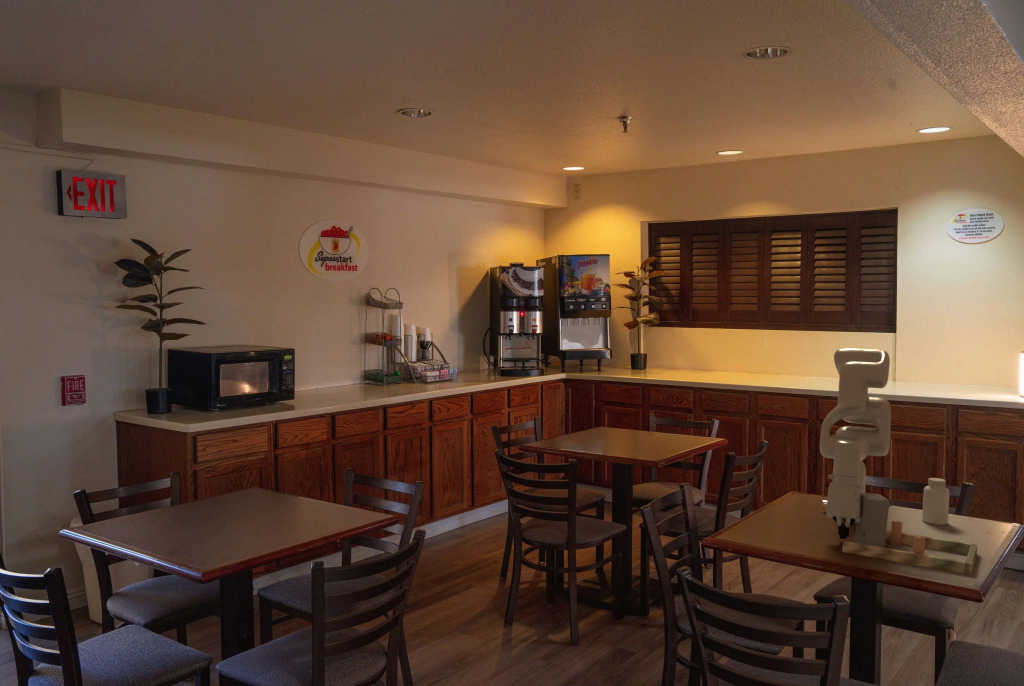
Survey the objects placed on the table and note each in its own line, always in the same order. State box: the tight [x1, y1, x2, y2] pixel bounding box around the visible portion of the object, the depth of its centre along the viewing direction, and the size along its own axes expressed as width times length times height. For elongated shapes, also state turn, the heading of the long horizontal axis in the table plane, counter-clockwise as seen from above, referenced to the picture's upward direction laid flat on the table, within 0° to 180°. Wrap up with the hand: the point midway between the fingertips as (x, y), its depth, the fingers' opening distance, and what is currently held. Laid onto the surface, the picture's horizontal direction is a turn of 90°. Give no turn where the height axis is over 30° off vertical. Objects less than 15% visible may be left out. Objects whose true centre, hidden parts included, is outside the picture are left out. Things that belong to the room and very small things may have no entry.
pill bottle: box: [921, 477, 951, 526], centre depth 277 cm, size 8×8×15 cm
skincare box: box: [854, 492, 890, 548], centre depth 246 cm, size 8×7×16 cm
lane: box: [841, 529, 978, 576], centre depth 241 cm, size 34×23×3 cm
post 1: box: [890, 520, 903, 547], centre depth 249 cm, size 3×3×7 cm
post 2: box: [912, 535, 926, 555], centre depth 232 cm, size 3×3×7 cm
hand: (843, 538), depth 251 cm, fingers closed
